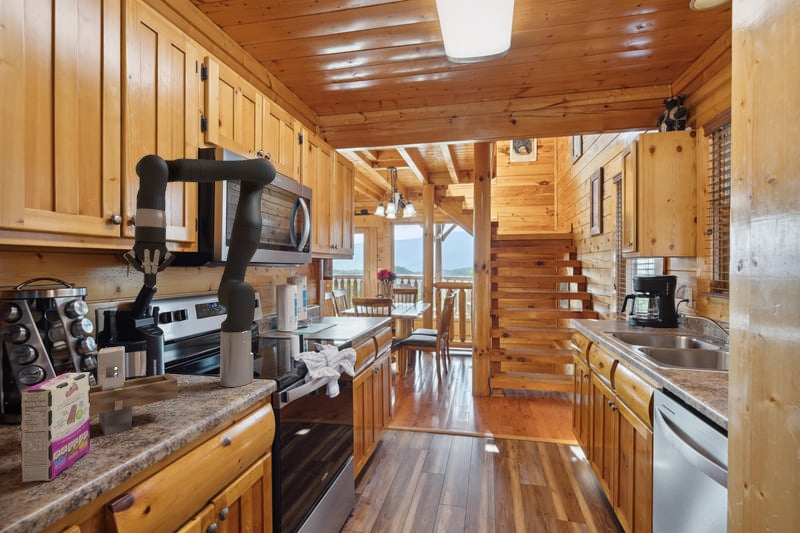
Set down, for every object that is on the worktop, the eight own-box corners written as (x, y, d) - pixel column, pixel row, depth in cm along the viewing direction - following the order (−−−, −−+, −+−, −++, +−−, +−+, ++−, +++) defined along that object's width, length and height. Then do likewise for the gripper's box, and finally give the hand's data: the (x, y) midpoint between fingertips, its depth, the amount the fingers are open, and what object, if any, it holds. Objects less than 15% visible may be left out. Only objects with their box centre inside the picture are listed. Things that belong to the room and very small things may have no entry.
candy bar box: (62, 453, 78) (64, 372, 78) (90, 451, 78) (92, 371, 79) (17, 484, 67) (19, 389, 67) (50, 482, 67) (52, 388, 67)
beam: (167, 408, 103) (168, 372, 103) (177, 418, 96) (177, 380, 96) (45, 434, 86) (46, 392, 86) (47, 448, 79) (48, 402, 79)
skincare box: (124, 404, 105) (125, 350, 105) (95, 409, 101) (97, 352, 101) (125, 396, 112) (126, 344, 112) (99, 399, 108) (100, 347, 108)
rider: (120, 392, 93) (121, 364, 93) (123, 397, 90) (124, 367, 90) (99, 396, 90) (100, 366, 90) (102, 400, 88) (102, 370, 88)
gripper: (173, 229, 118) (172, 285, 118) (120, 225, 108) (119, 286, 108) (180, 227, 112) (179, 286, 112) (125, 223, 103) (124, 287, 103)
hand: (149, 286), depth 110 cm, fingers closed
